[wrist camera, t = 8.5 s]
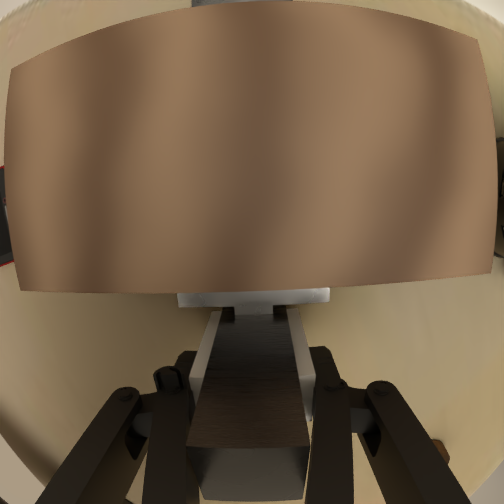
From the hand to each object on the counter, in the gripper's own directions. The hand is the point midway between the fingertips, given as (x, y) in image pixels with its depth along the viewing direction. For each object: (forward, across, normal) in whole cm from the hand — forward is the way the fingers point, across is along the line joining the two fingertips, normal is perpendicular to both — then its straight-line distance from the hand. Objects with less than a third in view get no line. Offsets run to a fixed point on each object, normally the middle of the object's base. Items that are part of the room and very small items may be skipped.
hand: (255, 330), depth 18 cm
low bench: (+2, 0, +10) cm, 11 cm away
